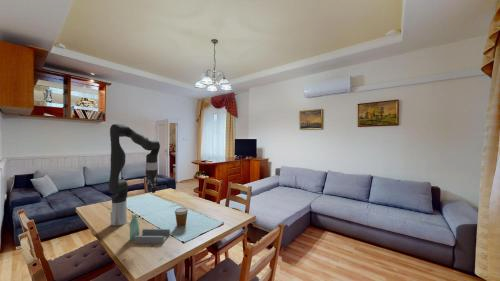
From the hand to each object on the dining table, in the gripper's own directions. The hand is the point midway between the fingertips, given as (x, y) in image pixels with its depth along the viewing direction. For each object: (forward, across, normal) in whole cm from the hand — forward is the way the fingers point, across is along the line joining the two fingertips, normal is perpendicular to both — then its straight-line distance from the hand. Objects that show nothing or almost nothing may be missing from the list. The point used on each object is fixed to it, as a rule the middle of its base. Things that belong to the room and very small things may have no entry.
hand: (151, 191), depth 139 cm
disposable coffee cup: (+28, +9, +19) cm, 34 cm away
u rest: (+28, +13, -3) cm, 31 cm away
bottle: (+28, +5, -12) cm, 31 cm away
